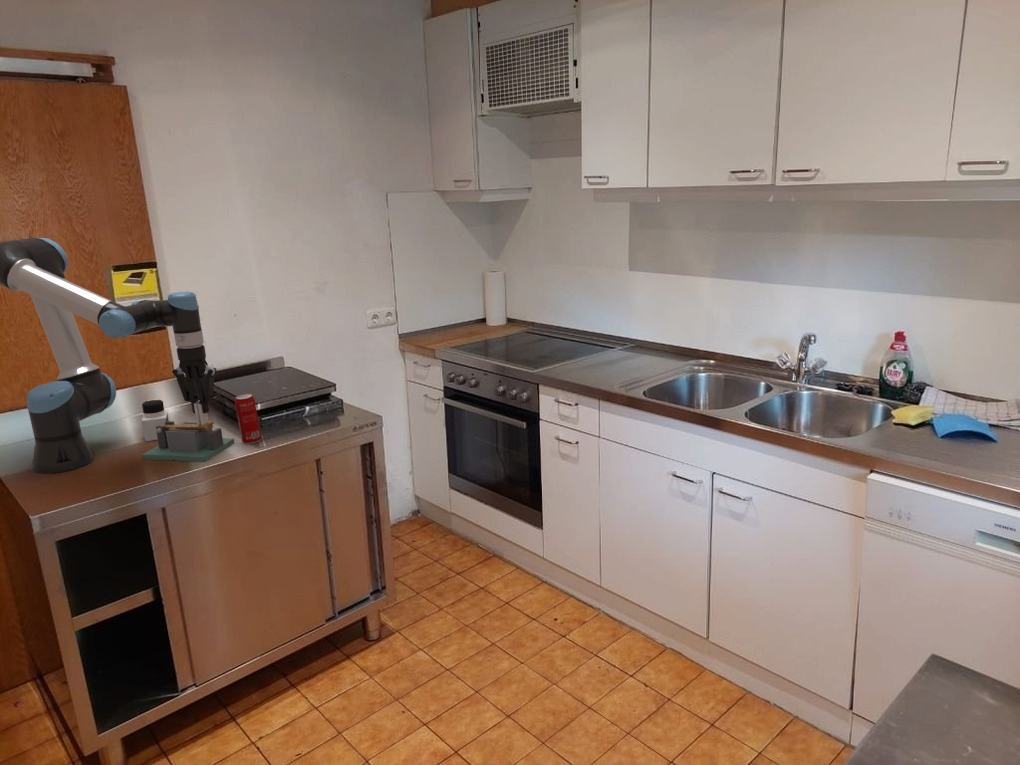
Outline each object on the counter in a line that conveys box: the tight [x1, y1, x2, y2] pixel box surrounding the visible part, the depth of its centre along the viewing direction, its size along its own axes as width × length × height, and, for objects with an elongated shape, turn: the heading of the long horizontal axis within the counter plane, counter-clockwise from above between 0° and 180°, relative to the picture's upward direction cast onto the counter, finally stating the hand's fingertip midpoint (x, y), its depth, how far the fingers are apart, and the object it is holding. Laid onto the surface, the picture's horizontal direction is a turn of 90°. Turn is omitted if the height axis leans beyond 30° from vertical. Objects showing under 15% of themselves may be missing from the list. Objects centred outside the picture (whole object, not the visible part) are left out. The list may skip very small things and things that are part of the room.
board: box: [142, 420, 235, 463], centre depth 223 cm, size 20×16×8 cm
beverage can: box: [234, 393, 262, 445], centre depth 229 cm, size 6×6×15 cm
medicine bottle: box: [141, 398, 170, 442], centre depth 237 cm, size 7×7×12 cm
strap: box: [164, 421, 215, 430], centre depth 222 cm, size 16×4×2 cm, turn 79°
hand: (202, 423), depth 221 cm, fingers closed, pressing on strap
